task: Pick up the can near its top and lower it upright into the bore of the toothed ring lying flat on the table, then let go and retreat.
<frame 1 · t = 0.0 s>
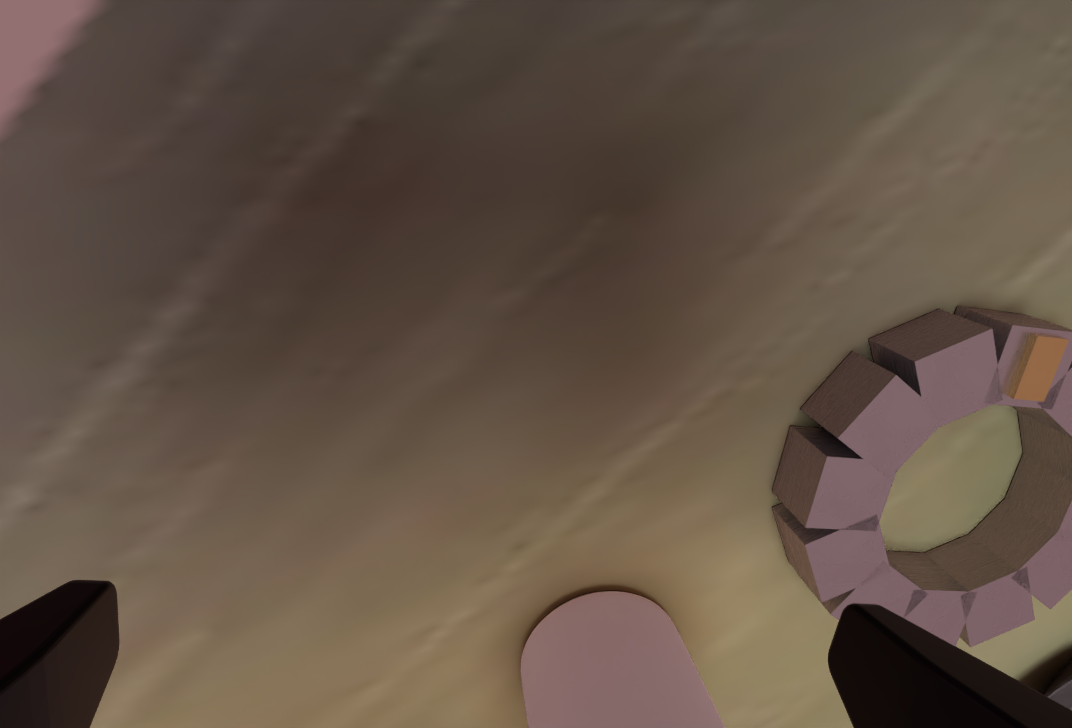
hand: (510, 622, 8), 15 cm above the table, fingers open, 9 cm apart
toothed ring: (932, 469, 27), on the table
can: (597, 647, 28), on the table
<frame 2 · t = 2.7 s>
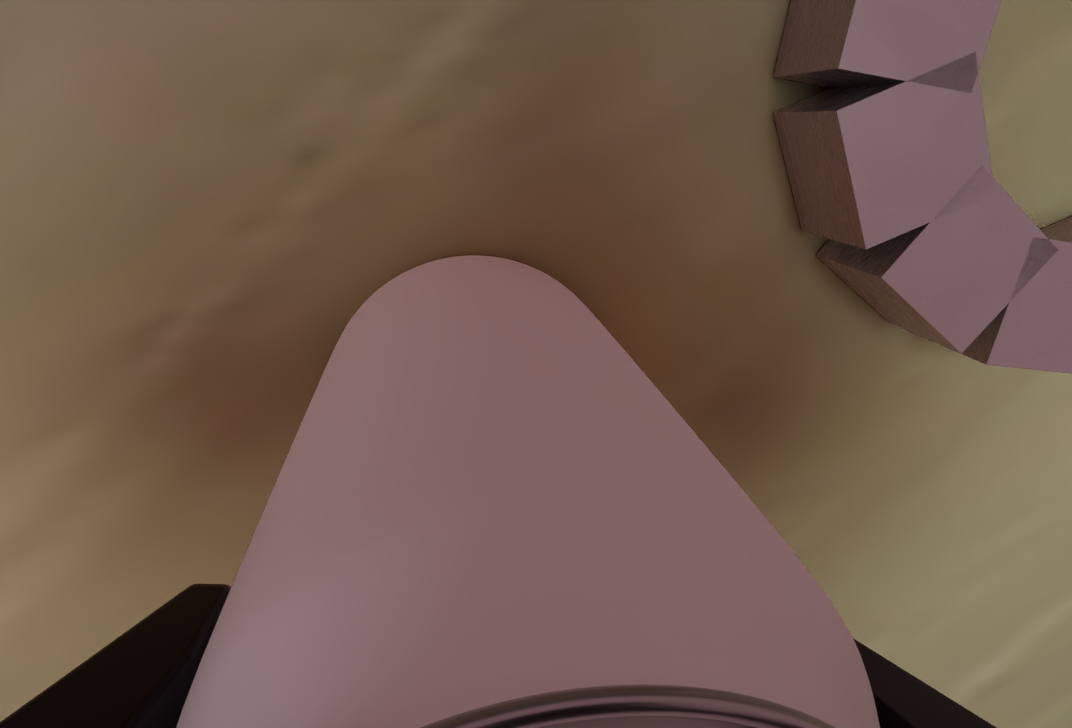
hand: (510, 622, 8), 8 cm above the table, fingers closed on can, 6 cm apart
toothed ring: (1055, 59, 15), on the table
can: (473, 386, 16), on the table, touching gripper
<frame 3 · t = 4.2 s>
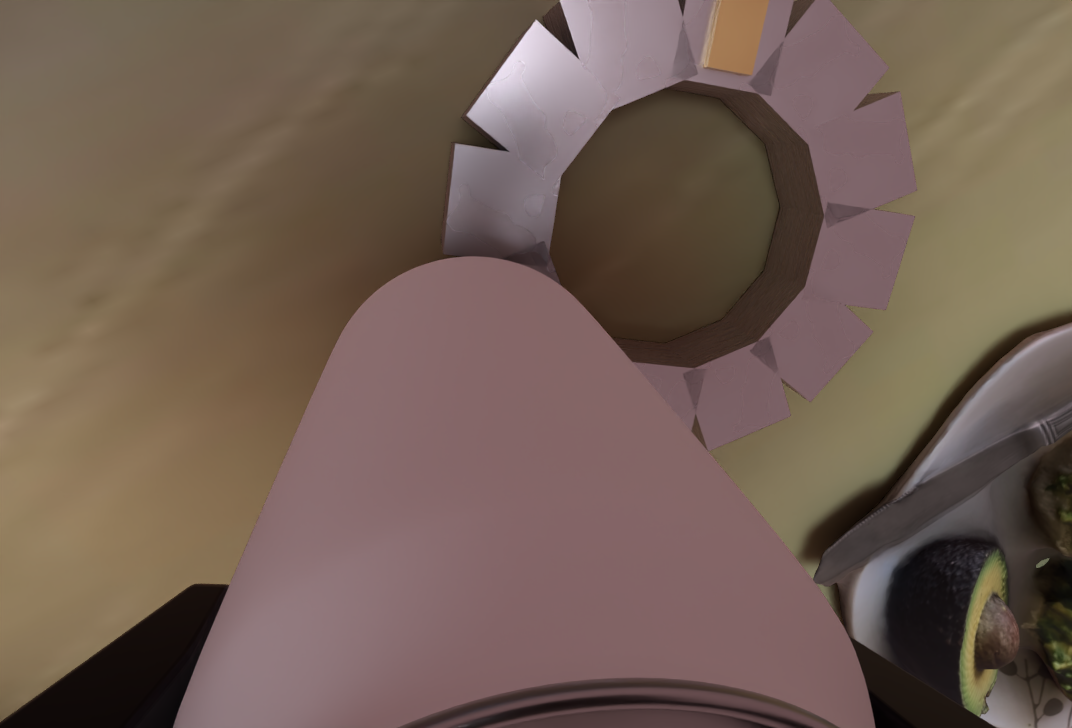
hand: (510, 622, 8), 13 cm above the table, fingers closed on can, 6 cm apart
toothed ring: (660, 222, 21), on the table
can: (471, 387, 16), point 5 cm above the table, touching gripper
avocado toast plate: (1022, 528, 28), on the table
when the fingers open (9 cm above the table, at t = 6.1 s): can drops 1 cm, resting in toothed ring.
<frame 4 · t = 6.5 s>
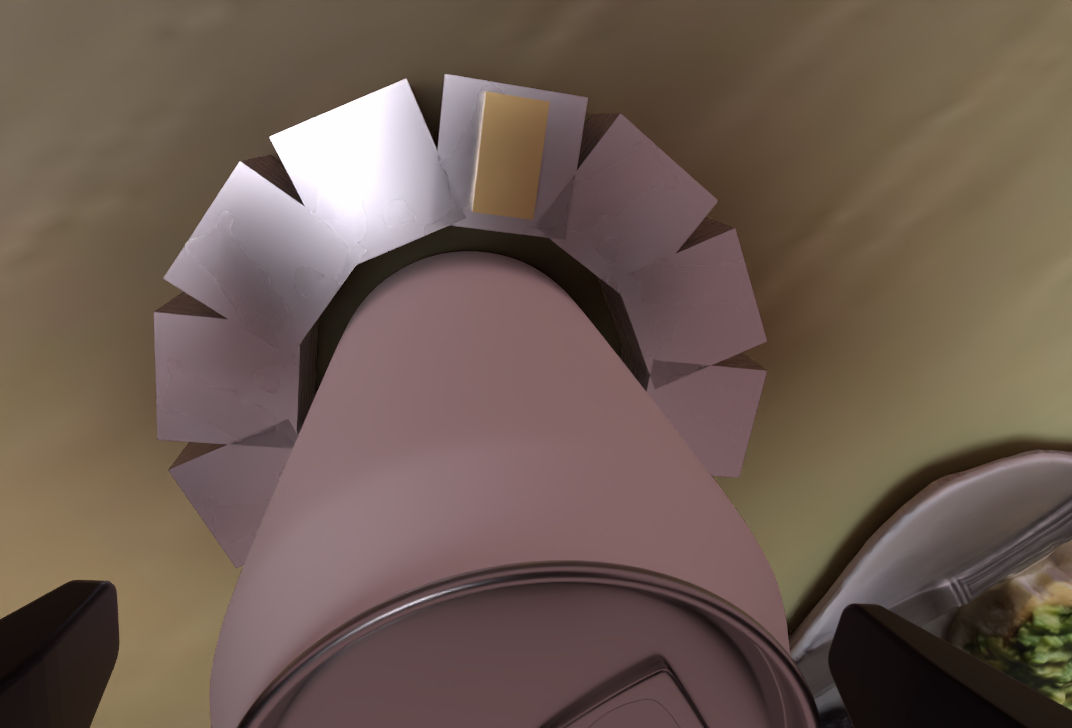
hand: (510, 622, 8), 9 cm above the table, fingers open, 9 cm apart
toothed ring: (471, 365, 17), on the table
can: (468, 371, 18), resting in toothed ring
avocado toast plate: (946, 671, 24), on the table
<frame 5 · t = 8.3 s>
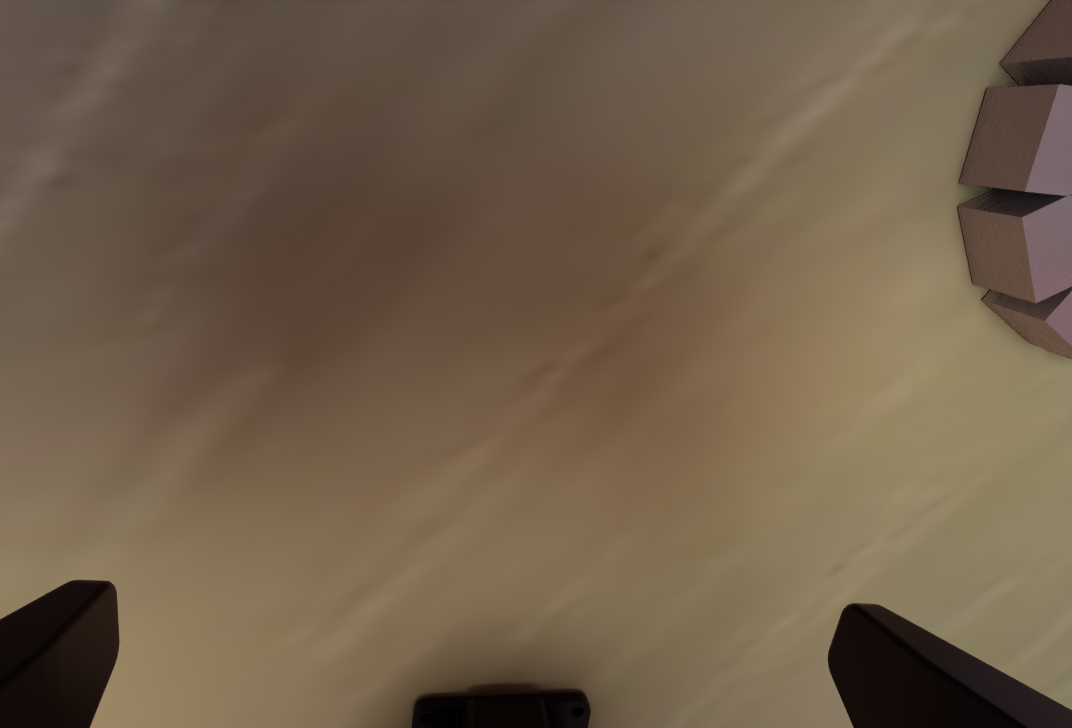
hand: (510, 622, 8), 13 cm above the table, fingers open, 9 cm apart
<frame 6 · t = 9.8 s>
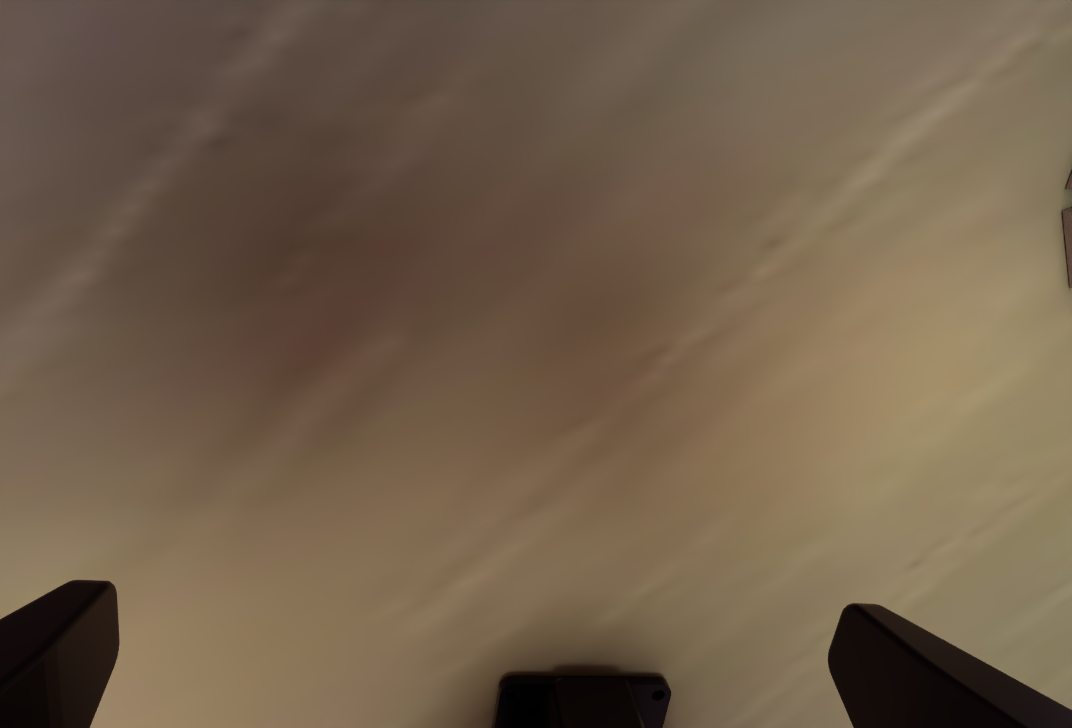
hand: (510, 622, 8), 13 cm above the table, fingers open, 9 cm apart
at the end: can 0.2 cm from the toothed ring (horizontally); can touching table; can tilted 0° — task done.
